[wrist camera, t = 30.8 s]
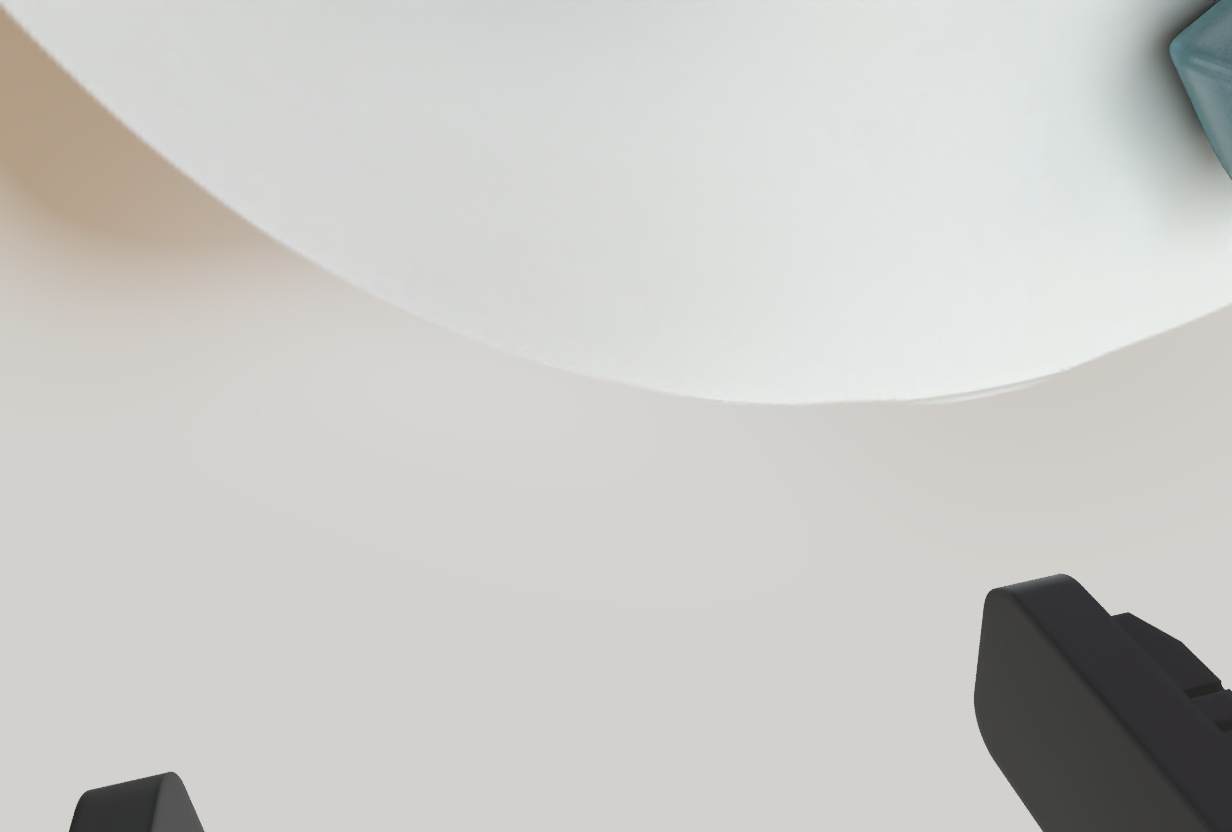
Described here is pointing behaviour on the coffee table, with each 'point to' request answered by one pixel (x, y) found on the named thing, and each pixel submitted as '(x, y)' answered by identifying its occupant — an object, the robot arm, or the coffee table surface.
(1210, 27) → the flower pot
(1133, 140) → the coffee table surface
